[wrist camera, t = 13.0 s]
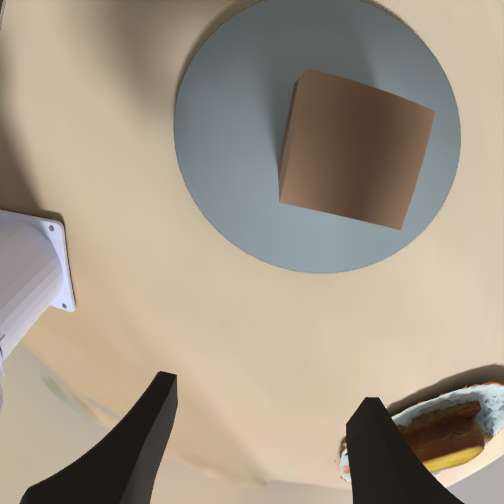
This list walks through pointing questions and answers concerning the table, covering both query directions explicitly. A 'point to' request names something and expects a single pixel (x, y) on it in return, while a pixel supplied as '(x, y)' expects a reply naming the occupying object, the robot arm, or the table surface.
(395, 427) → the robot arm
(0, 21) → the food container
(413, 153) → the walnut block
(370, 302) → the table surface
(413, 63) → the slate dish
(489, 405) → the food on plate
